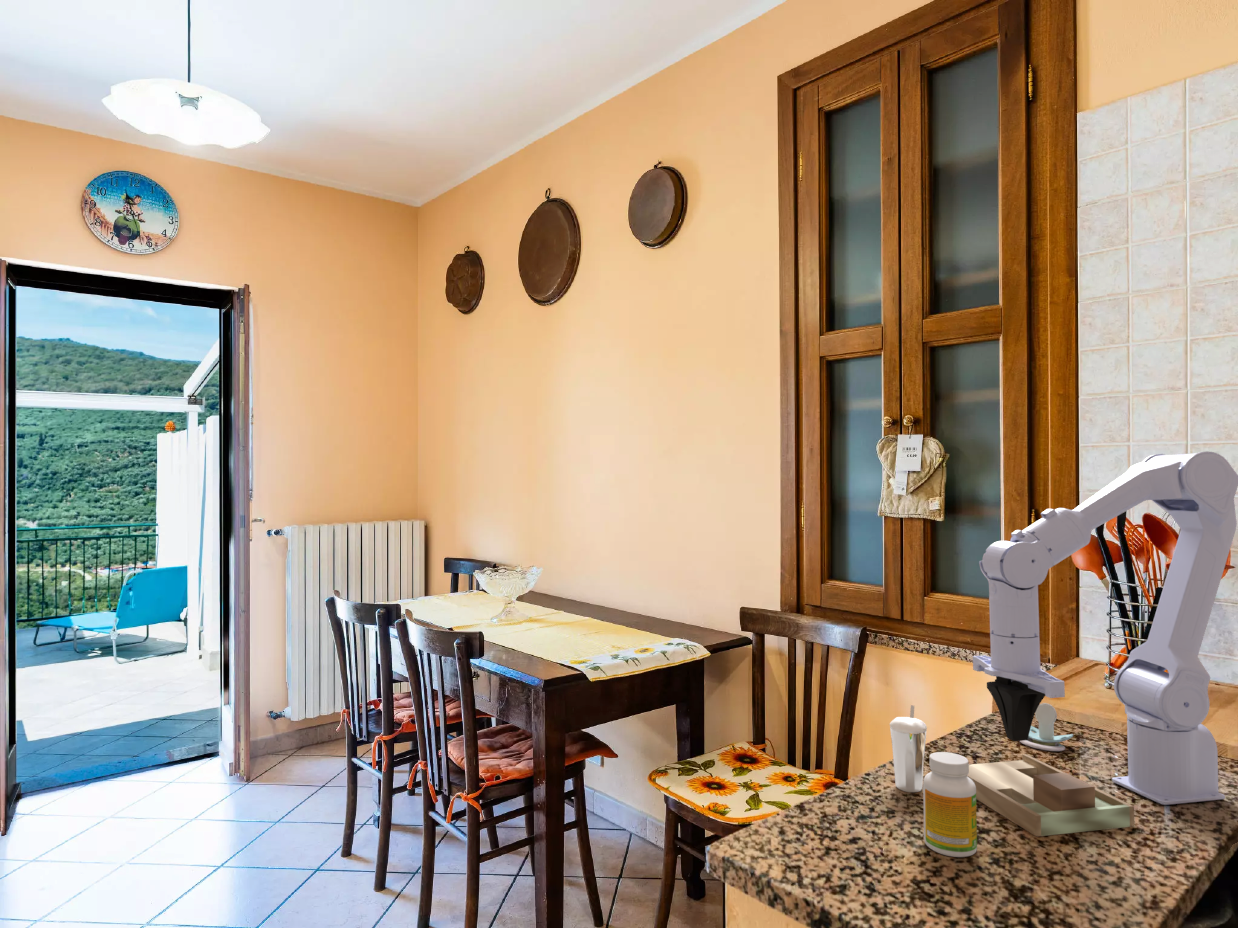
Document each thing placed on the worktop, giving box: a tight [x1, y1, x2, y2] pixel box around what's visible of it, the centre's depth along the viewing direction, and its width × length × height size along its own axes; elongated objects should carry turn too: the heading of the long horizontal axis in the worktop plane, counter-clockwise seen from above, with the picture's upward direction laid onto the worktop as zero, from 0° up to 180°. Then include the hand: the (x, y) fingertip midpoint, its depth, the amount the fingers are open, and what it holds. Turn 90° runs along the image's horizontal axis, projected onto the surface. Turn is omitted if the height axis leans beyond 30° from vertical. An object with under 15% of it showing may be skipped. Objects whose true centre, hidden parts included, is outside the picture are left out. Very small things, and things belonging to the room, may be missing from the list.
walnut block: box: [1033, 772, 1096, 812], centre depth 91 cm, size 4×4×3 cm
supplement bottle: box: [922, 751, 978, 858], centre depth 84 cm, size 5×5×10 cm
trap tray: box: [967, 753, 1135, 837], centre depth 96 cm, size 13×18×2 cm
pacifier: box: [1019, 702, 1074, 752], centre depth 117 cm, size 7×6×6 cm
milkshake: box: [889, 704, 928, 793], centre depth 101 cm, size 5×5×10 cm
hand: (1017, 738), depth 99 cm, fingers closed
